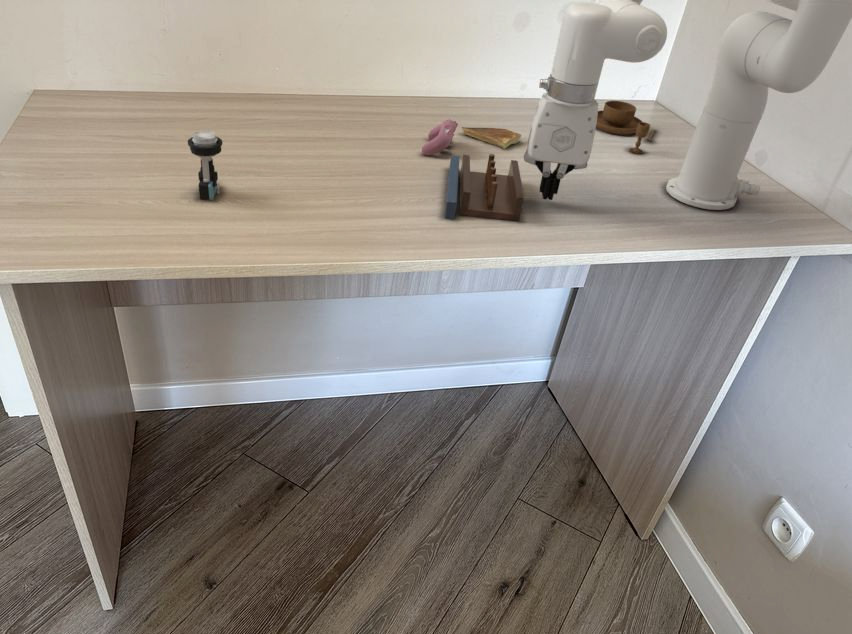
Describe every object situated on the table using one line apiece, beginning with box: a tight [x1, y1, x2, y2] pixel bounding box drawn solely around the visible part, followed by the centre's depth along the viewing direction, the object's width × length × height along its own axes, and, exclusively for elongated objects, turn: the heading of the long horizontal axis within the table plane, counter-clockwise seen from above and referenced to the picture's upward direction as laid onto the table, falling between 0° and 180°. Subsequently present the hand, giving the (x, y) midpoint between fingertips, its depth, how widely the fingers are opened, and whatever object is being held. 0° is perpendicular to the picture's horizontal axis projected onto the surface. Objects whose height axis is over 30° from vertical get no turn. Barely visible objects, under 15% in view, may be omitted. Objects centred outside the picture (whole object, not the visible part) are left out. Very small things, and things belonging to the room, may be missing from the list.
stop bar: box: [444, 154, 460, 220], centre depth 121 cm, size 2×20×3 cm, turn 174°
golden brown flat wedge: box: [461, 126, 522, 150], centre depth 145 cm, size 11×8×2 cm
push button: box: [187, 130, 223, 201], centre depth 112 cm, size 7×5×10 cm
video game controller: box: [421, 118, 459, 156], centre depth 136 cm, size 10×5×7 cm, turn 168°
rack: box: [459, 153, 525, 222], centre depth 120 cm, size 10×16×6 cm, turn 175°
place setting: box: [596, 100, 656, 155], centre depth 152 cm, size 18×20×6 cm
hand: (547, 196), depth 120 cm, fingers closed
